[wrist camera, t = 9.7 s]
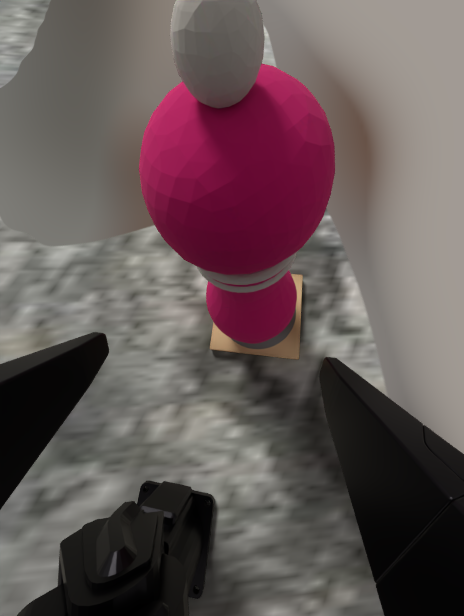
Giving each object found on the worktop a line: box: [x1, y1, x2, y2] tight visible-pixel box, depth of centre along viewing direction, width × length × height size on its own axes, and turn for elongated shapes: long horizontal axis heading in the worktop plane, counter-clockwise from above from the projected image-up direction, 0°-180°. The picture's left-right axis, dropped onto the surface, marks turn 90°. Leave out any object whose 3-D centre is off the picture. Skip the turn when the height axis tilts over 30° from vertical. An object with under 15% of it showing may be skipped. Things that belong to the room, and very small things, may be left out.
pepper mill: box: [139, 0, 335, 344], centre depth 13 cm, size 7×7×20 cm
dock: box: [210, 274, 302, 360], centre depth 23 cm, size 8×8×1 cm
